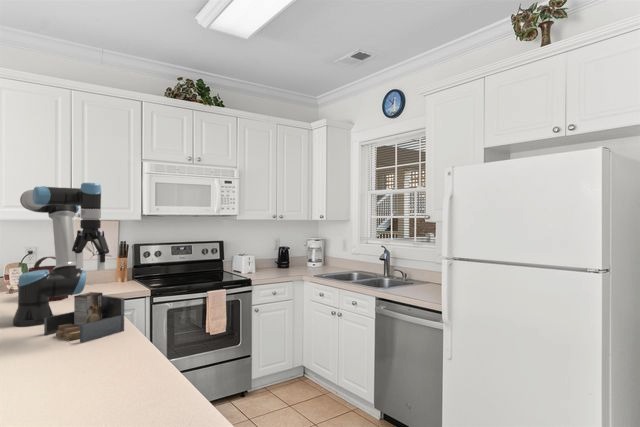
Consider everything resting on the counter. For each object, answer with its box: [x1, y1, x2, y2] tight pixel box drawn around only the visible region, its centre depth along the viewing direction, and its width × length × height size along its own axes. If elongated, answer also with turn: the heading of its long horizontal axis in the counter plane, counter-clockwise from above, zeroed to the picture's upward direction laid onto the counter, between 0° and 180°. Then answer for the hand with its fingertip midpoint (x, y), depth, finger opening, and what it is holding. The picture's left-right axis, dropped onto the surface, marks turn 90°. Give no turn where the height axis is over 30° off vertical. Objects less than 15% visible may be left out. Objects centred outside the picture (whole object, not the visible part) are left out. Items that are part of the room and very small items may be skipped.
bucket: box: [27, 256, 69, 303], centre depth 239 cm, size 24×22×25 cm
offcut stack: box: [55, 324, 80, 342], centre depth 165 cm, size 12×6×4 cm, turn 55°
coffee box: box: [73, 291, 104, 330], centre depth 173 cm, size 9×6×16 cm
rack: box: [43, 294, 125, 344], centre depth 171 cm, size 24×19×14 cm
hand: (90, 269), depth 173 cm, fingers open, 13 cm apart
